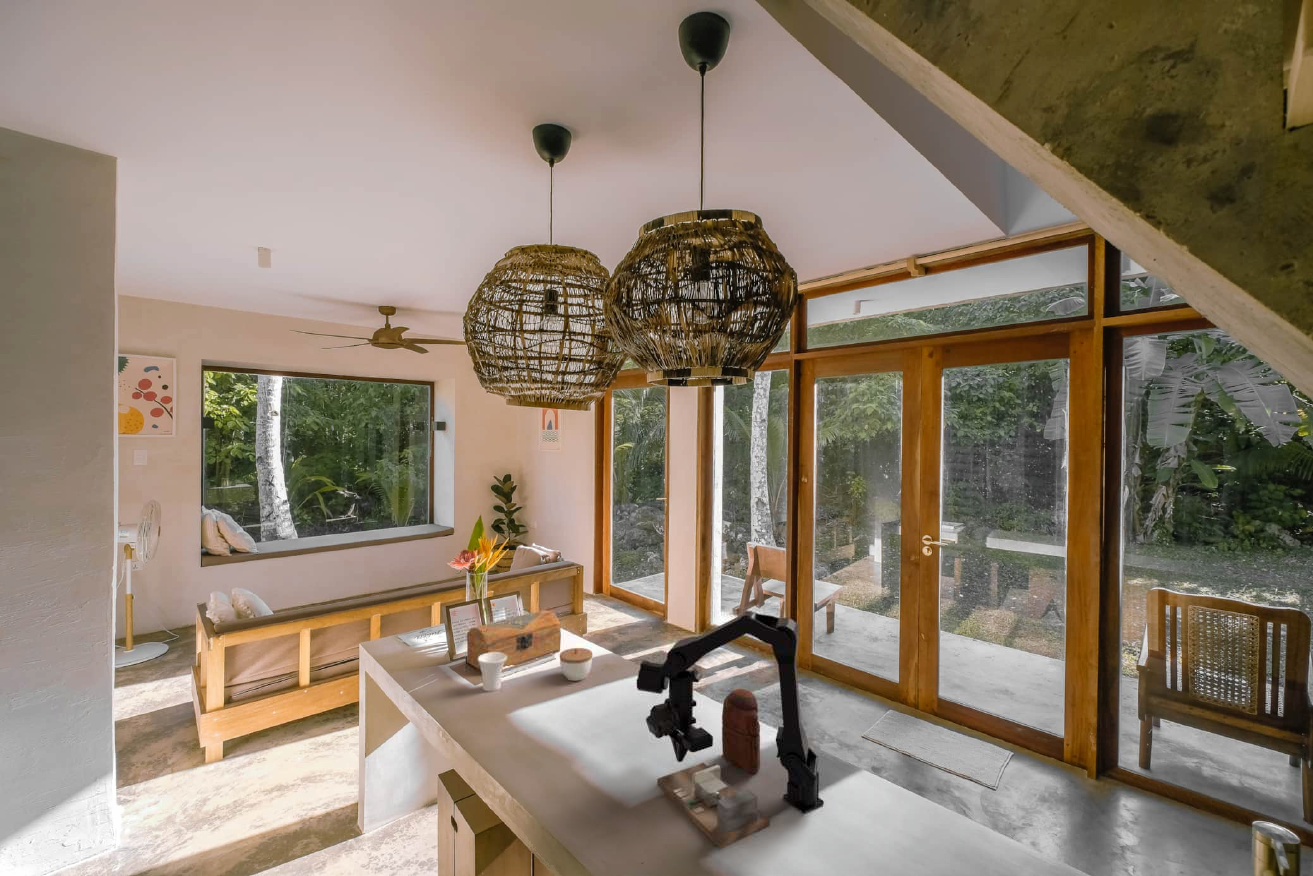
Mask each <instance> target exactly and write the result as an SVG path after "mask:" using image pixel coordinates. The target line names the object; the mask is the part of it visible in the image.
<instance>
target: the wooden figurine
mask: <svg viewBox="0 0 1313 876" xmlns="http://www.w3.org/2000/svg"><path fill="white" fill-rule="evenodd" d="M722 705H723V706H722V713H721V715H722V716H721V725H722V726H721V742H722V743H721V745H722V746H721V747H722V757H723V758H724V759H725V760H726V761H727V762H729V763H731V764H732V765H734V766H736V767H738V768H740V769H742V770H743V771H745V772H747V773H749V774H757V773H759V770H760V769H761V735H760V732H761V724H760V722H759V717H758V713H759V708H758V705H759V704H758V702H757V697H756V695H755V694H754V693H753V692H751V691H750V690H747V689H744V688H737V689H735V690H733V691H731V692H730V693H728V695H727V696H725V698H724V700H723V703H722Z"/></svg>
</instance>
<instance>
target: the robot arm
mask: <svg viewBox="0 0 1313 876" xmlns="http://www.w3.org/2000/svg"><path fill="white" fill-rule="evenodd" d="M744 635H750V636H752V637H753V638H756V639H757V640H759V641H760V642H762V643H765V644H768V645H770V646H771V648H772V649H771V650H772V653H773V655H774V657H775V660H776V662H777V667H778V675H779V677H778V678H779V689H780V703H781V715H782V726H778V728H777V731H776V736H775V742H776V747H777V755H776V758H777V759H779V762H780V764H781V766H782V767H783V768H784V769H785V770H786V771H787V774H788V778H787V779H788V780H787V782H786V789H787V790H786V793H784V794H783V796H782V798H783V799H784V800H785V801H786V802H788V803H789V804H791V805H792V806H793V807H794V808H795V809H797V810H798V811H799V812H801V813H804V814H806V813H807V812H809V811H811V810H814V809H816V808H818V807H821V806H823V805H824V804H825V801H824V800H823V799H822V798H820V795H819V793H820V792H819V790H820V789H819V787H820V783H819V782H820V779H819V778H820V777H819V776H820V774H819V773H820V772H818V765H819V764H818V763H819V756H818V755H817V753H815V752H814V751H813V750H812V749H811V747H810V745H809V741H808V737H807V734H806V731H805V728H804V726H803V723H802V719H801V707H800V706H801V705H800V696H799V695H800V693H799V682H798V670H797V655H798V649H799V641H800V640H799V639H800V638H799V637H800V627H799V625H798V623H797V622H796V621H795V620H793V619H791V618H788V617H781V618H780V617H778V616H774V615H771V614H770V615H769V614H762V613H757V612H755V611H751V610H746V611H743V612H742V613H741V614H740V615H737V616H736V617H734V618H732V619H731V620H728V621H726V622H724V623H723V624H720V625H718V626H717V627H715V628H713V629H711V630H709V631H707V632H705V633H703V634H701V635H697V636H690V637H686V638H682V639H680V640H678V641H676V642H675V643H674V645H673V646H672V647H671V648H670V649H669V651H668V652H667V655H666V660H664V662H663V663H656V662H651V661H649V660H648V661H647V660H642V662H641V663H640V664H639V671H638V675H637V679H636V689H637V690H638V691H640V692H646V693H651V694H658V695H659V694H660V695H661V694H663V693H664V691H667V689H668V698H665V699H664V702H663V703H660V704H657V705H653V706H652V707H651V709H650V714H649V715H648V716H647V717H645V721H646V724H647V728H648V730H649V732H650V733H651V734H652V735H654V737H655V738H656V739H661V738H663V737H669V738H670V741H671V745H672V747H673V751H674V755H675V758H676V761H677V762H678V763H682V762H683V761H684V759H685V757H686V755H687V754H688V751H689V753H696V752H700V751H702V750H706V749H708V748H712V747H713V745H714V736H713V735H712V734H711V733H710V732H708V731H707V730H706V729H704V728H703V727H698V728H697V727H696V726H695V724H697V718H696V717H694V715H693V713H694V710H693V708H695V707H697V701H696V700H695V699H694V683H699V681H700V680H701V678H702V677H703V675H702V673H701V672H700V671H699V670H697V668H696V667H693V668H692V669H690V668H691V667H692V666H694V665H695V664H696V663H697V662H698V661H700V659H702V658H703V657H704V656H705V655H707V654H709V653H710V652H713V651H715V650H717V649H719V648H721V647H723V646H725V645H727V644H729V643H730V642H733V641H735V640H736V639H738V638H740V637H742V636H744Z"/></svg>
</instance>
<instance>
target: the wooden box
mask: <svg viewBox="0 0 1313 876" xmlns="http://www.w3.org/2000/svg"><path fill="white" fill-rule="evenodd" d="M561 638H562V632H561V622H560V620H559V618H558V616H557V615H556V613H554V612H552V611H550V610H547V609H546V610H544V609H542V610H538V611H535V612H531V613H530V612H529V613H526V614H521V615H518V616H517V615H516V616H513V617H510V618H509V617H508V618H505V619H500V620H497V621H494V622H490V623H488V624H487V623H486V624H484V625H479V626H476V627H471V628H470V629H469V630H468V631H467V633H466V643H467V644H466V645H467V646H466V648H467V650H466V652H467V663H468V664H470V665H471V666H473V667H474V668H477V669H478V670H479V671H481V667H480V664H479V662H478V657H479V656H480V655H482V654H485V653H490V652H501V653H504V654H505V655H506V657H507V660H506V661H505V662H504V665H503V667H505V666H510V665H515V666H519V665H523V664H525V663H528V661H529V662H531V660H532V661H534V660H537V659H536V658H538V659H541V658H544V657H546V655H547V656H549V655H548V654H550V655H552V654H551V653H553V654H556V653H559V652H561V641H562V640H561ZM515 666H514V667H515Z"/></svg>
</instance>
